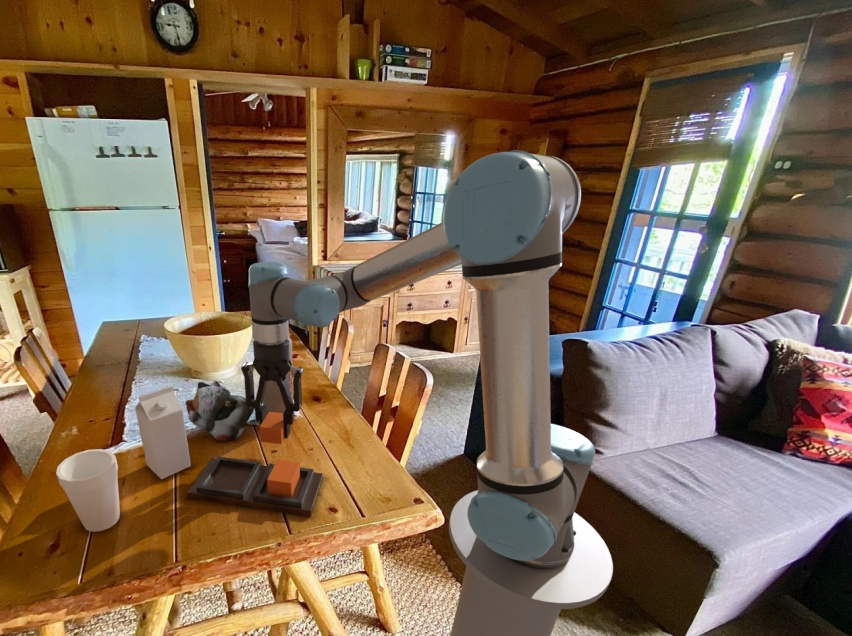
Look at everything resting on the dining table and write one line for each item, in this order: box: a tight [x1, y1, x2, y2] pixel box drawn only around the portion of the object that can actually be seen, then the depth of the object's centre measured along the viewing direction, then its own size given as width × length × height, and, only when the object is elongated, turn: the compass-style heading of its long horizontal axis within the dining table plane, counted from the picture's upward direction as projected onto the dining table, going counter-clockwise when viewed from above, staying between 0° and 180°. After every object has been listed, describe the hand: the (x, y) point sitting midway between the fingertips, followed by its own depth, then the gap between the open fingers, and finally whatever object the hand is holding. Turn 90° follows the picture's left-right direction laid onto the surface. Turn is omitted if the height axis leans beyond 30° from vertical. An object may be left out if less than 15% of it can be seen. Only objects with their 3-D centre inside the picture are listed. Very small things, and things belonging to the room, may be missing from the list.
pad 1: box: [259, 412, 286, 445], centre depth 101 cm, size 5×7×4 cm
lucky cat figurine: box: [185, 380, 255, 442], centre depth 111 cm, size 15×12×14 cm
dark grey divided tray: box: [186, 455, 324, 517], centre depth 93 cm, size 26×12×3 cm, turn 80°
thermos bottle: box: [262, 334, 294, 416], centre depth 113 cm, size 8×8×28 cm
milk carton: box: [134, 386, 192, 480], centre depth 95 cm, size 7×7×19 cm
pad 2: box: [267, 459, 301, 498], centre depth 91 cm, size 5×7×4 cm
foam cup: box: [55, 448, 121, 533], centre depth 81 cm, size 10×9×13 cm
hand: (275, 433), depth 102 cm, fingers closed on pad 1, 5 cm apart
